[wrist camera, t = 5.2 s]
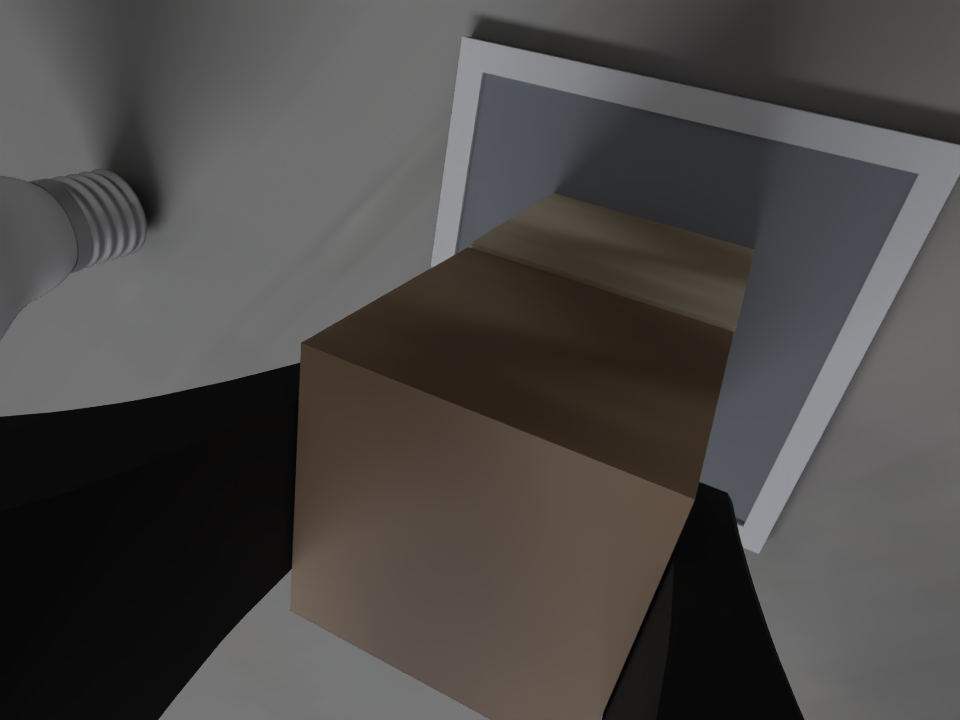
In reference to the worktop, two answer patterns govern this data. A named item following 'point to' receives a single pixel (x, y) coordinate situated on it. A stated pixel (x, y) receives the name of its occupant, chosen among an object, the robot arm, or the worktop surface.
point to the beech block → (627, 257)
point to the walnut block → (499, 479)
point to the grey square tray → (713, 225)
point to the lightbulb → (62, 232)
